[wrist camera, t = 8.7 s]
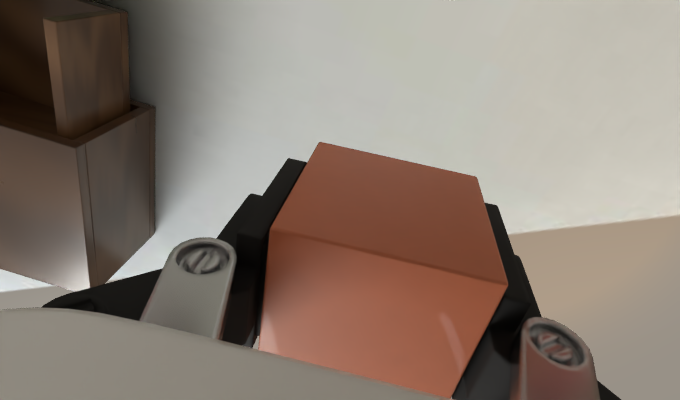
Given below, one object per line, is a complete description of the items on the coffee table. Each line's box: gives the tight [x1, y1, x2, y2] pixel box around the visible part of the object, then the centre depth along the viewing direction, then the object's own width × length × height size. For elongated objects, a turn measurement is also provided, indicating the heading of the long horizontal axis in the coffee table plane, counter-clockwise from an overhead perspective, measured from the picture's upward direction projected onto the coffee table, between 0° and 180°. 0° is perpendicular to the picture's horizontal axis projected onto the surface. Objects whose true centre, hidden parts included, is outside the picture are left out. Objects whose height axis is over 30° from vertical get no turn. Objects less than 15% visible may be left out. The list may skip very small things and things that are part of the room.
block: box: [258, 142, 508, 398], centre depth 10 cm, size 4×4×4 cm
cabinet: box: [0, 99, 155, 292], centre depth 31 cm, size 13×14×9 cm
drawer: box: [0, 0, 130, 140], centre depth 25 cm, size 16×12×7 cm
